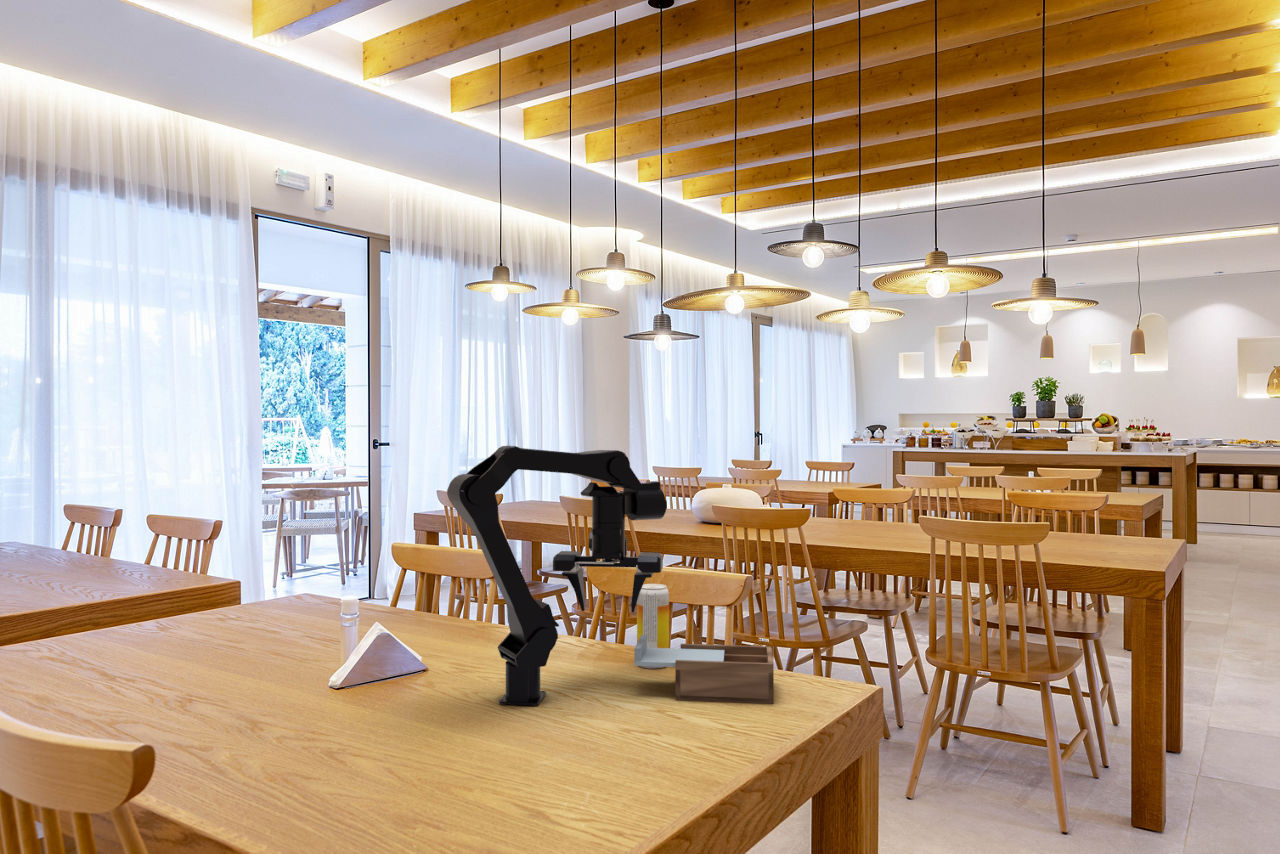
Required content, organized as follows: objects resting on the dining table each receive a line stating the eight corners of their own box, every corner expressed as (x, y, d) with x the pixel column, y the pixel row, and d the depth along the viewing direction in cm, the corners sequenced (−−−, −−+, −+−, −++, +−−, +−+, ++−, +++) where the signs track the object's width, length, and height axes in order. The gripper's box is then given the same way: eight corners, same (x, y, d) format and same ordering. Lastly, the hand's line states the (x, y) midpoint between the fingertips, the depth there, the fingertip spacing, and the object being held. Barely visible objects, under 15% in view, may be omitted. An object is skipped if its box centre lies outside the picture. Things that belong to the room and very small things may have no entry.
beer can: (669, 661, 164) (669, 583, 164) (667, 669, 158) (667, 589, 158) (638, 660, 164) (638, 583, 165) (635, 668, 158) (635, 588, 158)
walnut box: (773, 703, 137) (773, 664, 138) (675, 700, 139) (675, 661, 140) (771, 682, 149) (771, 646, 149) (680, 679, 151) (680, 643, 151)
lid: (723, 668, 140) (723, 651, 140) (634, 665, 142) (634, 648, 142) (724, 654, 149) (724, 637, 149) (641, 651, 151) (641, 635, 151)
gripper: (665, 518, 155) (664, 603, 155) (564, 516, 157) (564, 601, 156) (660, 524, 144) (660, 616, 143) (552, 522, 146) (551, 613, 145)
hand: (608, 611), depth 147 cm, fingers open, 8 cm apart
